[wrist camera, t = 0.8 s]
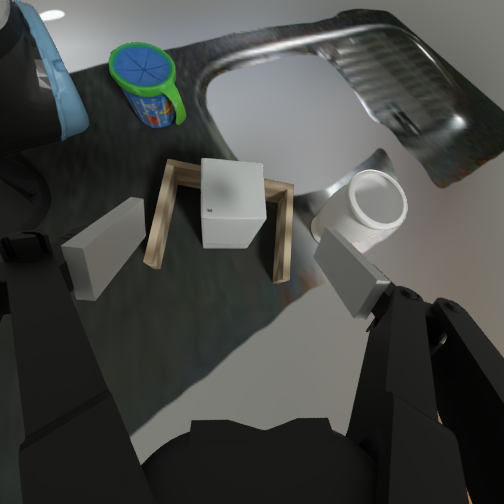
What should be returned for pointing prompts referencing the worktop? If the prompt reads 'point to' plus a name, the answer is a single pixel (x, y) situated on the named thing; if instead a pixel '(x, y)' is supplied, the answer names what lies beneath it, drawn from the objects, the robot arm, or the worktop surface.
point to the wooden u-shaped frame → (191, 177)
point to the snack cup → (148, 83)
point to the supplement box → (231, 202)
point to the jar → (363, 207)
